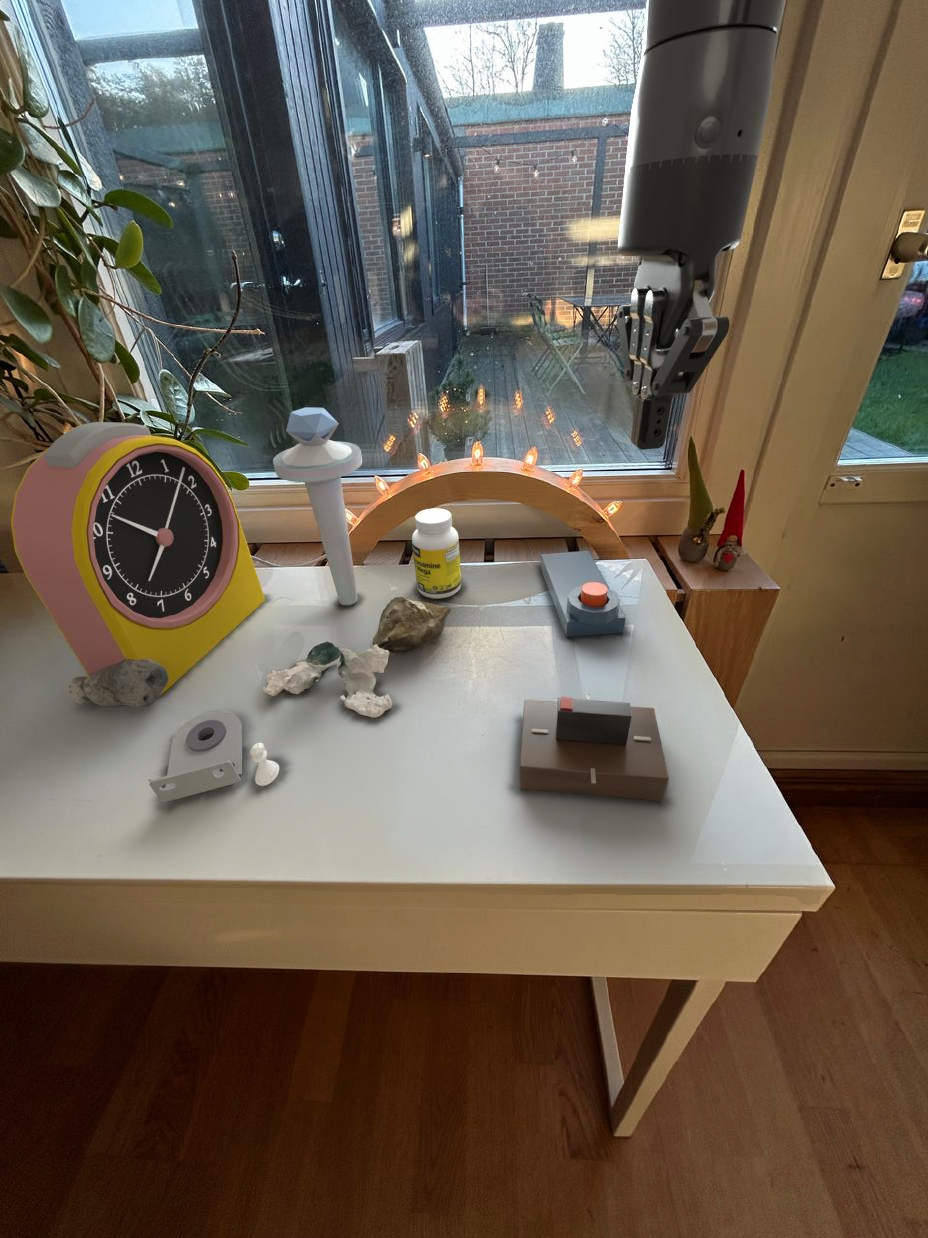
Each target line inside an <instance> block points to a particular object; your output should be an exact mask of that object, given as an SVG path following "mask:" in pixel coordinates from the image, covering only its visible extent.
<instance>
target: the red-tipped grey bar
mask: <svg viewBox="0 0 928 1238" xmlns="http://www.w3.org/2000/svg"><path fill="white" fill-rule="evenodd" d="M557 702H558V706H557V719H556V739H563V740H575V741H587V742H599V743H612V744H624V745H626V744H627V738H628V733H629V728H630V723H631V718H632V714H631V708H630V707H631V703H630V702H621V701H606V700H593V699H590V700H586V699H577V698H573V697H567V696H566V697H565V696H563V697H562V696H560V697H558V698H557Z"/></svg>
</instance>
